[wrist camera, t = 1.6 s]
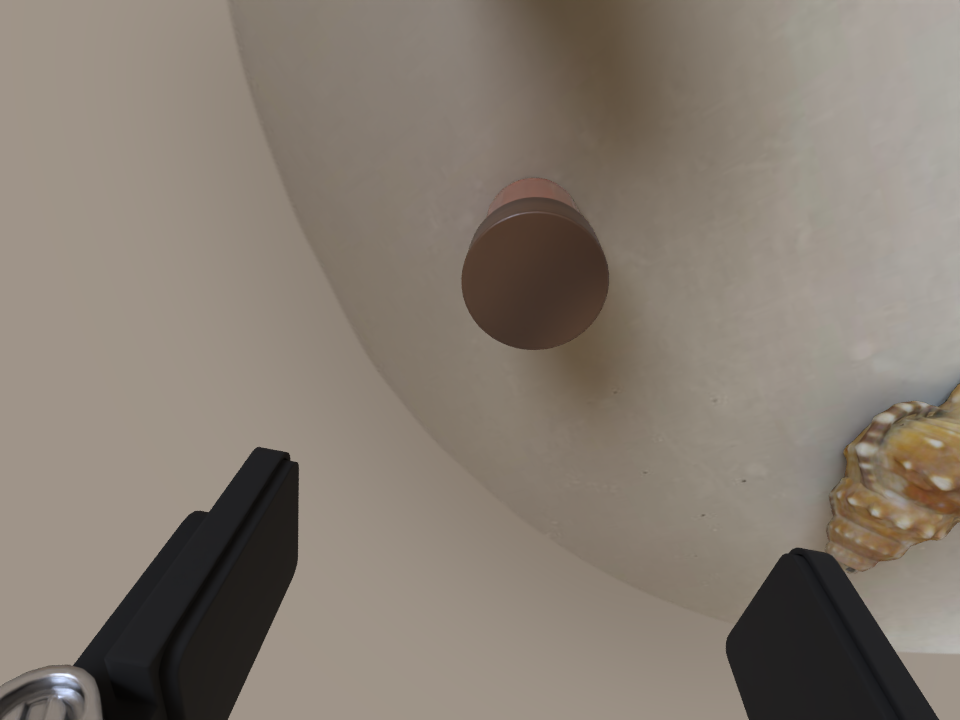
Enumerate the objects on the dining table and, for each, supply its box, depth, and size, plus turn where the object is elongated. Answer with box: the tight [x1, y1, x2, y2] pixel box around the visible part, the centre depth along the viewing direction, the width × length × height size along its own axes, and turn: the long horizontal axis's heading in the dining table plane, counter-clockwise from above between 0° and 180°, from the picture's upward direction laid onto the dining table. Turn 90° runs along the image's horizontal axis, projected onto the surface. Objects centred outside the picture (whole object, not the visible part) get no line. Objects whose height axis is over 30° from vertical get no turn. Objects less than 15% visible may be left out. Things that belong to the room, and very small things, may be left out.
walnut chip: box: [462, 197, 609, 350], centre depth 20 cm, size 5×5×2 cm
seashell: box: [825, 384, 960, 573], centre depth 28 cm, size 9×8×10 cm
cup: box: [486, 178, 580, 218], centre depth 23 cm, size 5×5×6 cm
